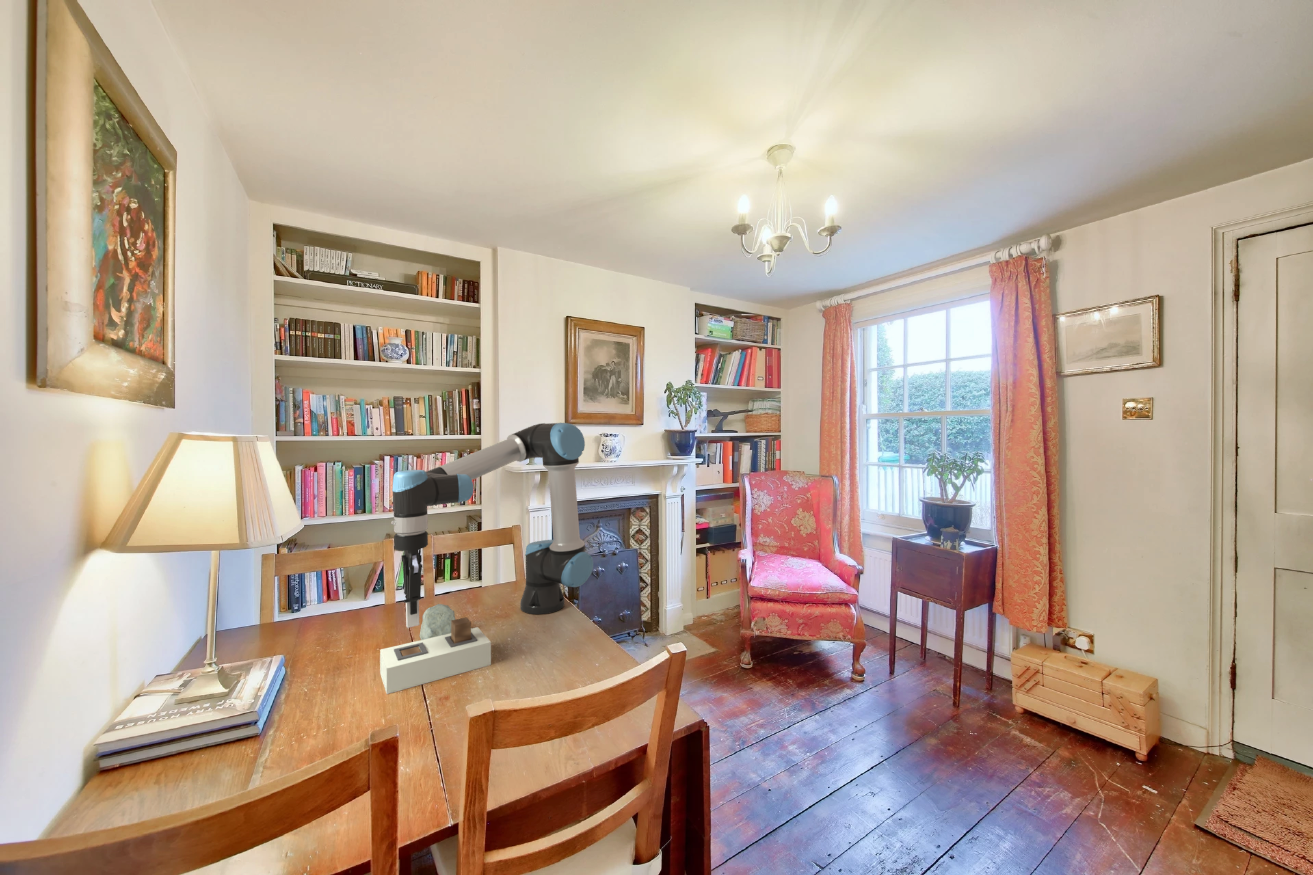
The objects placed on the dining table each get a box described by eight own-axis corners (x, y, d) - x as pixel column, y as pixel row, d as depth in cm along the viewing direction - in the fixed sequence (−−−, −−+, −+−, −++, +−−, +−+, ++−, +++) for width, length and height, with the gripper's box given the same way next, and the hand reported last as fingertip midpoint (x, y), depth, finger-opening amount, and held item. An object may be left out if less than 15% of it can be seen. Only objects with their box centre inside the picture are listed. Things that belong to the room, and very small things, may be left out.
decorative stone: (423, 631, 145) (410, 613, 139) (458, 614, 149) (447, 595, 143) (429, 667, 136) (416, 649, 130) (467, 647, 139) (456, 629, 133)
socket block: (477, 648, 134) (477, 625, 134) (490, 664, 124) (490, 640, 124) (380, 673, 120) (380, 647, 120) (386, 694, 110) (386, 666, 110)
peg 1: (418, 669, 121) (418, 646, 121) (421, 676, 118) (421, 652, 118) (400, 674, 119) (400, 650, 119) (403, 681, 116) (403, 656, 116)
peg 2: (466, 639, 128) (466, 617, 128) (470, 644, 125) (470, 621, 125) (451, 642, 126) (451, 620, 126) (454, 648, 123) (455, 625, 123)
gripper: (390, 529, 121) (392, 620, 122) (398, 539, 111) (400, 638, 111) (422, 525, 126) (423, 613, 126) (432, 534, 115) (434, 630, 116)
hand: (412, 625), depth 119 cm, fingers closed
